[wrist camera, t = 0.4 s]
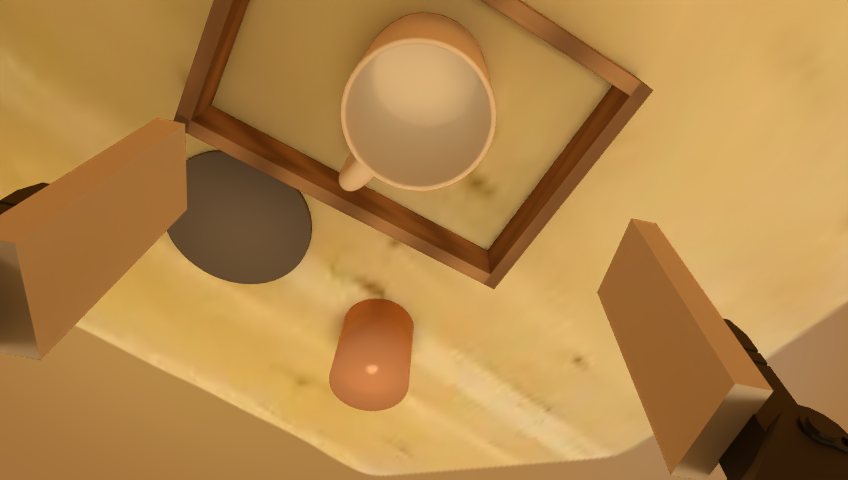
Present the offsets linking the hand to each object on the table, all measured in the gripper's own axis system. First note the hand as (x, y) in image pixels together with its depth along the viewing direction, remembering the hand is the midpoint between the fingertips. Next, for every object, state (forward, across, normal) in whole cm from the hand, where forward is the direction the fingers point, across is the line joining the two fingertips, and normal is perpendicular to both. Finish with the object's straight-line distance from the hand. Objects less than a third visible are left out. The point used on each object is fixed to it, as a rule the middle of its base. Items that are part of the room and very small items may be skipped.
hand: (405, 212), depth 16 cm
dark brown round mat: (+24, -13, -16) cm, 31 cm away
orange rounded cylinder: (+24, 0, -24) cm, 34 cm away
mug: (+24, -1, -3) cm, 24 cm away
